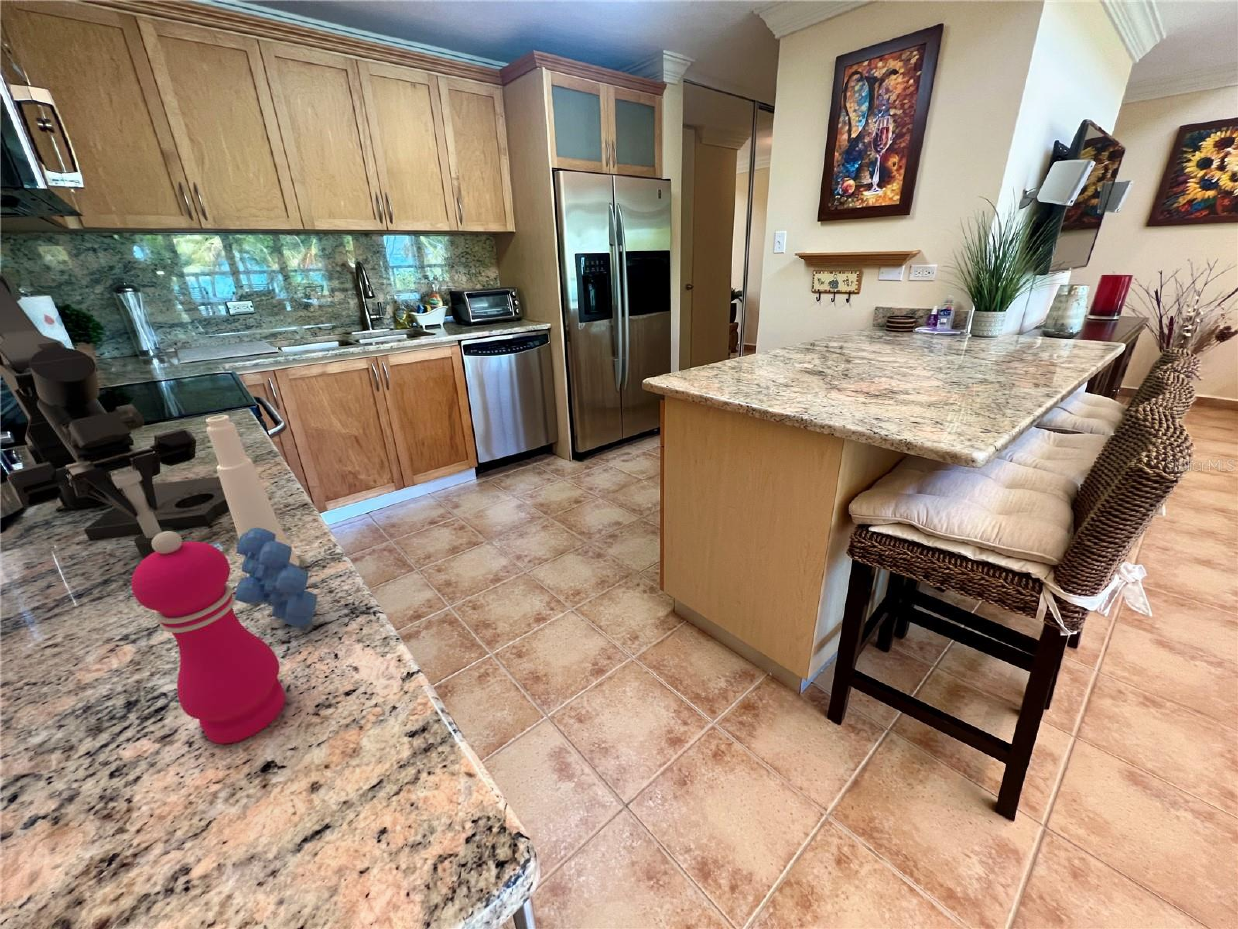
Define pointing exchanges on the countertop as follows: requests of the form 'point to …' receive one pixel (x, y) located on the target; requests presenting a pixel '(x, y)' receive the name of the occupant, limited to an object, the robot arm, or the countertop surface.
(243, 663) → the pepper mill
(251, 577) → the grapes
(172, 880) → the countertop surface
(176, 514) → the plate
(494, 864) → the countertop surface
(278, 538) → the cosmetic bottle
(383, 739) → the countertop surface
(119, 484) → the stopper
